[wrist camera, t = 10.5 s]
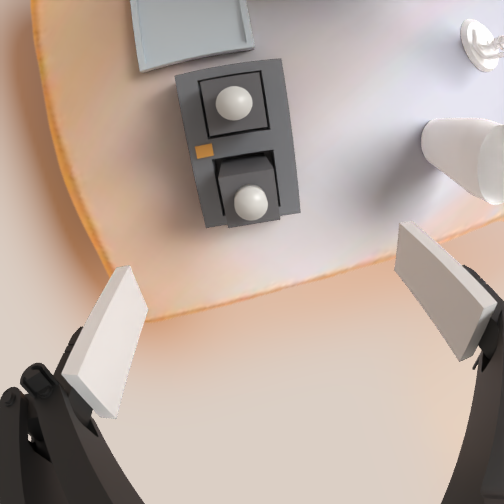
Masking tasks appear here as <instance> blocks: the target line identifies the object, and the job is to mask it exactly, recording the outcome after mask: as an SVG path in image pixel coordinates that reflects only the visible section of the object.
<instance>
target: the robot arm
mask: <svg viewBox="0 0 504 504" xmlns="http://www.w3.org/2000/svg"><path fill="white" fill-rule="evenodd" d="M394 270H395V272H396V273H397V274H398V275H399V277H400V278H401V279H402V281H403V282H404V283H405V285H406V286H407V287H408V288H409V290H410V291H411V292H412V294H413V295H414V296H415V298H416V299H417V301H418V302H419V303H420V304H421V306H422V307H423V309H424V310H425V312H426V313H427V314H428V316H429V317H430V319H431V320H432V321H433V323H434V324H435V326H436V327H437V329H438V330H439V332H440V333H441V335H442V336H443V338H444V339H445V340H446V342H447V344H448V345H449V347H450V348H451V350H452V351H453V353H454V354H455V355H456V357H457V359H458V360H459V362H460V361H462V360H465V359H467V358H469V357H471V356H472V355H473V354H474V352H475V350H476V348H477V346H478V345H479V347H480V348H481V350H482V351H481V353H480V355H479V357H478V359H477V361H476V362H475V364H474V366H473V370H474V369H475V368H476V366H477V365H478V371H477V378H476V385H475V391H474V397H473V402H472V407H471V412H470V416H469V421H468V425H467V429H466V433H465V437H464V440H463V444H462V447H461V451H460V454H459V457H458V461H457V463H456V466H455V469H454V472H453V475H452V478H451V480H450V483H449V485H448V488H447V490H446V493H445V495H444V498H443V500H442V503H441V504H504V301H503V300H502V299H501V298H500V297H499V296H498V295H497V294H496V293H495V291H494V290H493V289H492V288H491V287H490V286H489V285H488V284H486V282H485V281H484V280H483V279H482V278H480V276H479V275H478V274H477V273H476V272H475V271H474V270H472V269H471V268H469V267H467V266H465V265H461V264H460V263H459V262H458V261H456V260H455V259H454V258H453V257H452V256H451V255H450V254H449V253H448V252H447V251H446V250H445V249H443V248H442V247H441V246H440V245H439V244H438V243H437V242H436V241H435V240H434V239H432V238H431V237H430V236H429V235H428V234H427V233H426V232H424V231H423V230H422V229H421V228H420V227H418V226H417V225H416V224H415V223H414V222H413V221H409V222H402V223H399V234H398V244H397V253H396V261H395V269H394ZM147 312H148V307H147V305H146V303H145V301H144V298H143V296H142V294H141V291H140V289H139V287H138V284H137V282H136V279H135V277H134V275H133V272H132V270H131V267H130V265H128V266H122V267H116V269H115V271H114V272H113V274H112V276H111V278H110V279H109V281H108V283H107V284H106V286H105V288H104V290H103V292H102V293H101V295H100V297H99V299H98V300H97V302H96V304H95V306H94V308H93V310H92V312H91V314H90V315H89V318H88V319H87V321H86V323H85V325H84V327H80V328H79V329H78V330H77V331H76V332H75V333H74V334H73V336H72V338H71V339H70V341H69V343H68V346H67V347H66V350H65V353H64V354H63V356H62V358H61V360H60V362H59V364H58V366H57V368H56V370H55V373H54V375H52V374H51V373H50V371H49V370H48V369H47V368H46V367H45V365H44V364H42V363H35V364H33V365H31V366H29V367H28V368H27V369H26V370H25V371H24V373H23V374H22V376H21V379H20V384H21V385H22V387H23V388H24V389H25V390H26V391H27V392H28V393H29V394H25V395H24V394H23V393H22V392H21V391H20V390H19V389H18V388H16V387H11V388H9V389H7V390H6V391H5V392H4V393H3V395H2V397H1V399H0V504H145V503H144V502H143V501H142V499H141V498H140V497H139V495H138V494H137V492H136V491H135V489H134V488H133V487H132V485H131V483H130V482H129V481H128V479H127V477H126V476H125V474H124V473H123V471H122V469H121V468H120V466H119V464H118V463H117V461H116V459H115V458H114V456H113V454H112V453H111V451H110V449H109V447H108V445H107V444H106V442H105V440H104V438H103V436H102V434H101V432H100V430H99V428H98V427H97V424H96V422H95V421H94V419H93V418H92V417H91V414H92V410H94V411H95V412H96V413H97V414H98V415H99V416H100V417H103V418H113V419H116V418H117V415H118V411H119V407H120V403H121V399H122V395H123V391H124V387H125V383H126V380H127V377H128V373H129V370H130V366H131V363H132V359H133V356H134V353H135V349H136V346H137V343H138V340H139V337H140V333H141V330H142V327H143V324H144V321H145V318H146V315H147ZM28 434H29V435H30V436H31V439H32V440H31V442H30V441H29V440H28Z"/></svg>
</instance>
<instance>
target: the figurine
mask: <svg viewBox="0 0 504 504" xmlns="http://www.w3.org/2000/svg"><path fill="white" fill-rule="evenodd" d="M461 40H462V44H463V47H464V49H465V52H466V54H467V56H468V57H469V59H470V60H471V62H472V63H473V64H474V65H475V66H476V67H477V68H478V69H479V70H481V71H483V72H491V71H492V70H493V69H494V68H495V67H496V65H497V63H498V58H501V57H504V52H500V53H498V49H499V48H500V49H501V50H503V51H504V48H503V47H504V36H503V35H500V36H499V37H498V38H493V36H492V34H491V33H490V31H489V30H488V29H487V28H486V27H485V26H484V25H482V24H481V23H479V22H478V21H476V20H473V19H466V20H465V21H464V22H463V23H462V26H461Z"/></svg>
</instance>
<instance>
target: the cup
mask: <svg viewBox="0 0 504 504" xmlns="http://www.w3.org/2000/svg"><path fill="white" fill-rule="evenodd" d="M421 148H422V152H423V155H424V157H425V158H426V160H427V161H428V162H429V163H430V164H432V165H433V166H435V167H436V168H437V169H439V170H440V171H442V172H443V173H444V174H446V175H447V176H448V177H450V178H451V179H452V180H453V181H455V182H456V183H457V184H459V185H460V186H461V187H462V188H464V189H465V190H466V191H467V192H469V193H470V194H472V195H473V196H476V197H478V198H480V199H482V200H484V201H486V202H488V203H490V204H493V205H498V204H501V203H503V202H504V125H502V124H499V123H496V122H493V121H491V120H488V119H482V118H437V119H433V120H431V121H429V122H428V123H427V124H426V126H425V127H424V129H423V132H422V136H421Z"/></svg>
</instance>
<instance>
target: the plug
mask: <svg viewBox="0 0 504 504" xmlns="http://www.w3.org/2000/svg"><path fill="white" fill-rule="evenodd" d="M218 180H219V185H220V190H221V195H222V200H223V205H224V209H225V214H226V219H227V224H228V228H231V227H237V226H243V225H249V224H255V223H262V222H268V221H274V220H280V214H279V206H278V198H277V190H276V183H275V175H274V169H273V167H272V165H271V164H270V162H269V160H268V159H267V157H266V156H265V154H264V153H261V154H254V155H248V156H242V157H236V158H230V159H224V160H222V162H221V167H220V172H219V176H218Z"/></svg>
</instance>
